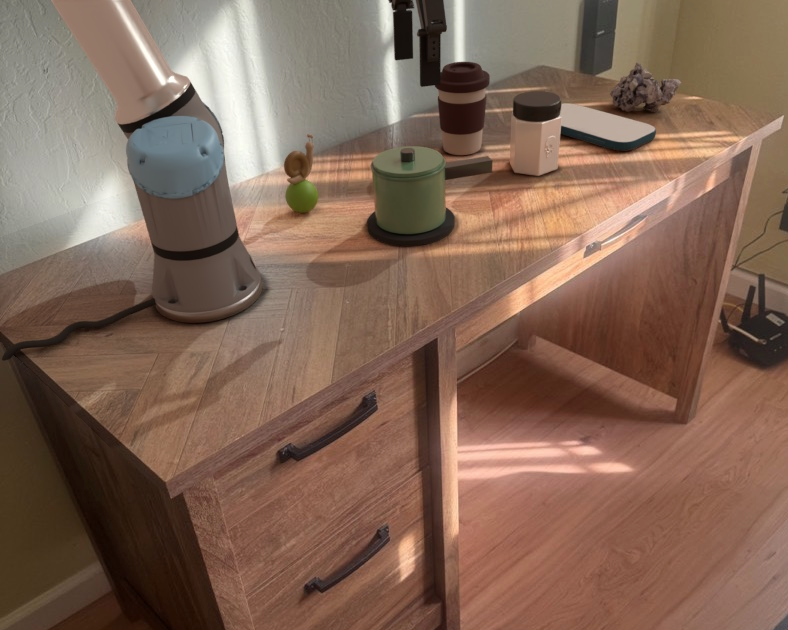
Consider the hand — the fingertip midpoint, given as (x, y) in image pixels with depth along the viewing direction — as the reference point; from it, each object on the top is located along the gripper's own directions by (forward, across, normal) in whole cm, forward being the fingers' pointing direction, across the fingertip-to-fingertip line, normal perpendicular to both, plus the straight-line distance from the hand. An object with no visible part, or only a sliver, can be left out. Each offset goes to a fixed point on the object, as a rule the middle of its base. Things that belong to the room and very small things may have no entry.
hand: (416, 71), depth 110 cm
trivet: (+23, -2, +2) cm, 23 cm away
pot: (+22, -2, -2) cm, 22 cm away
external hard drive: (+22, +23, -42) cm, 53 cm away
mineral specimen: (+22, +32, -56) cm, 68 cm away
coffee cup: (+23, +25, -16) cm, 38 cm away
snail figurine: (+23, +10, +17) cm, 31 cm away
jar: (+22, +12, -25) cm, 36 cm away
